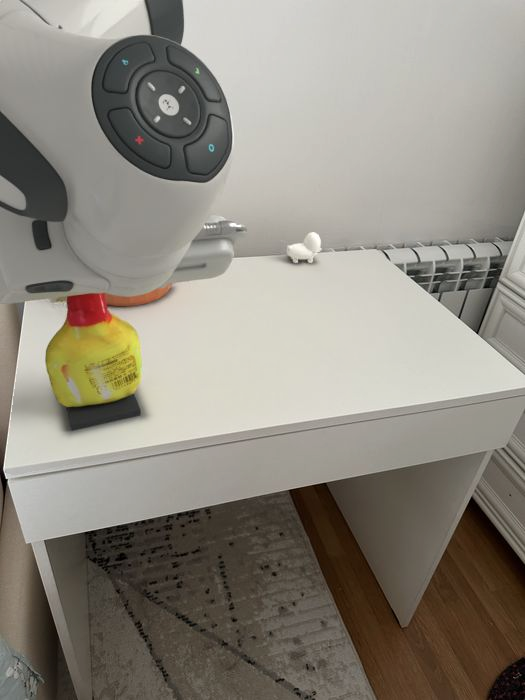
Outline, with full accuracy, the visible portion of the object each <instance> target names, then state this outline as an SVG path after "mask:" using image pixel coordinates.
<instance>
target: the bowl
mask: <svg viewBox="0 0 525 700" xmlns="http://www.w3.org/2000/svg"><path fill="white" fill-rule="evenodd" d="M173 284H174V283H170V284H167V286H166V287H165V288H160V289H155V290H153V291H151V292H149V293H146V294H142V295H138V296H129V297H126V296H115V295H111V294H107V293H105V299H106V304H107V306H112V307H133V306H141V305H146V304H149V303H152V302H154V301H157V300H159V299H160V298H162V297H163V296H165V295H166V294H167V293H168V292H169V290H170V288H171V287H172V286H173Z"/></svg>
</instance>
